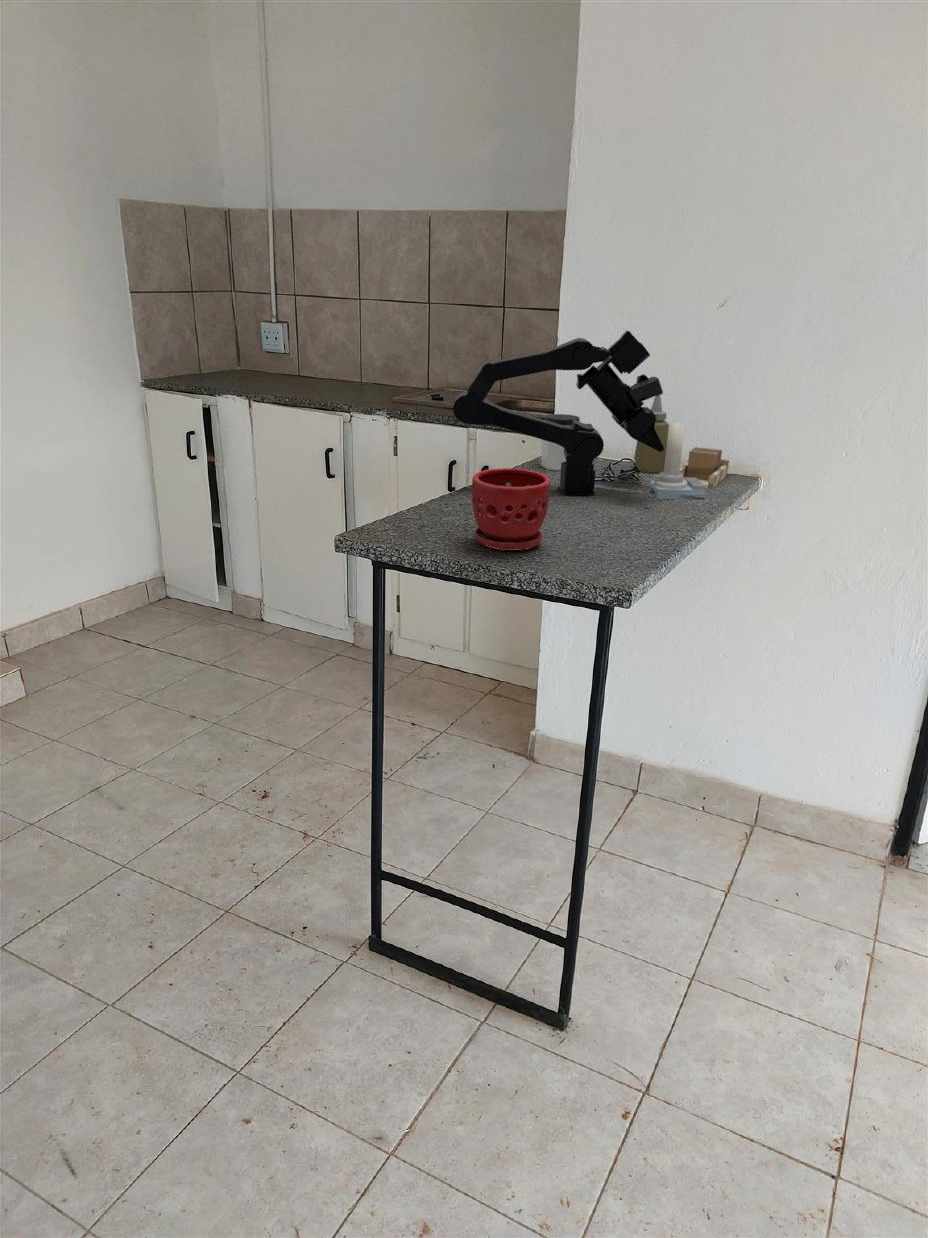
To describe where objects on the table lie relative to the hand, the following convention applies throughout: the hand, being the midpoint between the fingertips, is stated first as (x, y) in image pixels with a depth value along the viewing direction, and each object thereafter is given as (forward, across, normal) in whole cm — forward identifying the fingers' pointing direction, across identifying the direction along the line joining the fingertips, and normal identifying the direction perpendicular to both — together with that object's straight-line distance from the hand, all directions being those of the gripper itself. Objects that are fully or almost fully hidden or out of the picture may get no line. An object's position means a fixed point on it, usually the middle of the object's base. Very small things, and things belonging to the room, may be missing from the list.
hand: (657, 446), depth 188 cm
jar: (-4, +26, +20) cm, 33 cm away
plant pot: (-15, -40, +31) cm, 53 cm away
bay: (+16, +11, -2) cm, 20 cm away
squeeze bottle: (+10, +20, +5) cm, 23 cm away
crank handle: (+8, 0, +2) cm, 8 cm away
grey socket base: (+11, 0, +3) cm, 11 cm away
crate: (+16, +14, -4) cm, 22 cm away
